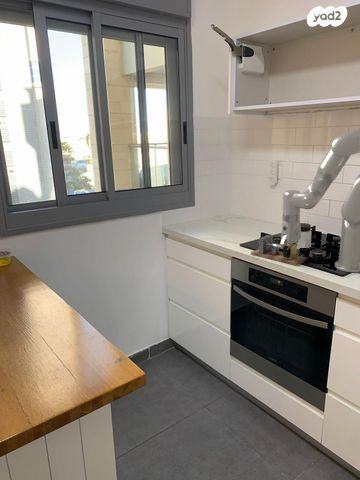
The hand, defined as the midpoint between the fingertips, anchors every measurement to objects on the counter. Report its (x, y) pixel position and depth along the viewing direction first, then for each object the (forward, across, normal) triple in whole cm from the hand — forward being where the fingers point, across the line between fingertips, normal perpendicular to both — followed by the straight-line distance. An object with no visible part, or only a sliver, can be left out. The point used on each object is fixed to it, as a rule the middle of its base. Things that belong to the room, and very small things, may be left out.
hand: (289, 255), depth 166 cm
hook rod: (+1, 0, +6) cm, 6 cm away
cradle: (+2, 0, +8) cm, 8 cm away
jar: (+3, +20, +5) cm, 21 cm away
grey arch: (+2, 0, +13) cm, 13 cm away
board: (+2, 0, +6) cm, 7 cm away
